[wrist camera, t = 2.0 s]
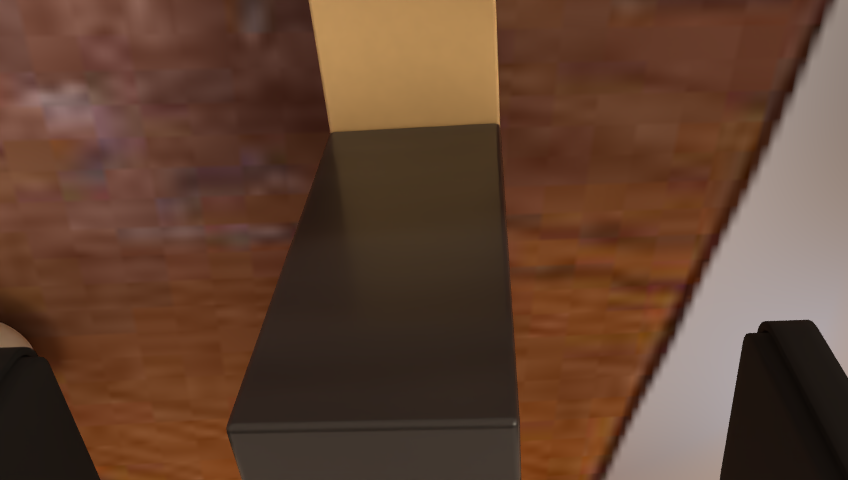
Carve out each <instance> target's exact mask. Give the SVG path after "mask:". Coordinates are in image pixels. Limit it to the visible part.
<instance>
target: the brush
mask: <svg viewBox="0 0 848 480" xmlns="http://www.w3.org/2000/svg"><path fill="white" fill-rule="evenodd" d="M309 6H310V12H311V18H312V24H313V31H314V37H315V43H316V49H317V55H318V61H319V67H320V73H321V79H322V85H323V91H324V98H325V104H326V110H327V116H328V122H329V128H330V135H329V138H328V141H327V144H326V146H325V149H324V152H323V155H322V158H321V161H320V163H319V166H318V169H317V172H316V175H315V178H314V180H313V183H312V186H311V189H310V192H309V195H308V197H307V200H306V203H305V206H304V209H303V212H302V214H301V217H300V220H299V223H298V226H297V229H296V231H295V234H294V237H293V240H292V243H291V246H290V248H289V251H288V254H287V257H286V260H285V263H284V265H283V268H282V271H281V274H280V277H279V280H278V282H277V285H276V288H275V291H274V294H273V297H272V299H271V302H270V305H269V308H268V311H267V314H266V316H265V319H264V322H263V325H262V328H261V331H260V333H259V336H258V339H257V342H256V345H255V347H254V350H253V353H252V356H251V359H250V362H249V364H248V367H247V370H246V373H245V376H244V379H243V381H242V384H241V387H240V390H239V393H238V396H237V398H236V401H235V404H234V407H233V410H232V413H231V415H230V418H229V421H228V424H227V428H226V429H227V434H228V437H229V440H230V443H231V447H232V450H233V453H234V456H235V459H236V462H237V466H238V469H239V472H240V475H241V478H242V480H521V453H520V418H519V403H518V388H517V373H516V358H515V343H514V328H513V312H512V297H511V282H510V267H509V252H508V237H507V221H506V206H505V191H504V176H503V161H502V146H501V130H500V107H499V77H498V47H497V18H496V0H309Z"/></svg>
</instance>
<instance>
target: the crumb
mask: <svg viewBox="0 0 848 480" xmlns="http://www.w3.org/2000/svg"><path fill="white" fill-rule="evenodd" d="M2 347H30V348H31V349H33V348H32V346H31V345H30V343H29V342H28V341H27V340H26V339H25V337H23V336H22V335H21V334H20V333H19V332H17V331H16V330H15V329H13V328H11V327H10V326H8V325H6V324H3V323H1V322H0V348H2Z"/></svg>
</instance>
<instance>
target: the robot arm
mask: <svg viewBox="0 0 848 480" xmlns="http://www.w3.org/2000/svg"><path fill="white" fill-rule="evenodd" d="M0 480H100V478H99V476H98V473H97V471H96V469H95V466H94V464H93V462H92V460H91V457H90V455H89V453H88V451H87V448H86V446H85V444H84V441H83V439H82V437H81V435H80V432H79V430H78V428H77V426H76V423H75V421H74V419H73V416H72V414H71V412H70V410H69V407H68V405H67V403H66V401H65V398H64V396H63V394H62V392H61V389H60V387H59V385H58V382H57V380H56V378H55V376H54V373H53V371H52V369H51V367H50V364H49V363H48V361H47V360H46V359H45V358H43V357H38V355H37V353H36V352H35V351H34V350H33V349H31V348H30V347H2V348H0ZM720 480H848V378H847V376H846V374H845V372H844V371H843V369H842V367H841V366H840V364H839V362H838V361H837V359H836V358H835V356H834V354H833V353H832V351H831V349H830V348H829V346H828V344H827V343H826V341H825V339H824V338H823V336H822V335H821V333H820V332H819V329H818V328H817V327H816V325H815V324H814V323H813V322H812V321H810V320H790V321H765V322H762V323H761V324H760V326H759V328H758V332H757V333H748V334H746V335H745V337H744V340H743V345H742V351H741V357H740V363H739V369H738V375H737V381H736V386H735V392H734V398H733V404H732V410H731V416H730V422H729V427H728V433H727V440H726V445H725V451H724V457H723V462H722V468H721V475H720Z"/></svg>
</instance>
